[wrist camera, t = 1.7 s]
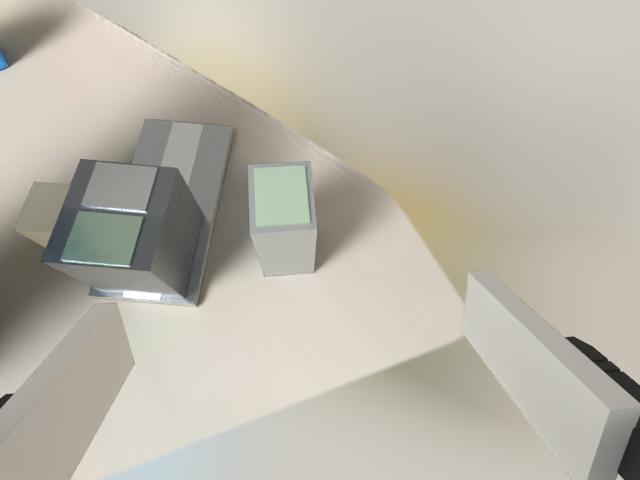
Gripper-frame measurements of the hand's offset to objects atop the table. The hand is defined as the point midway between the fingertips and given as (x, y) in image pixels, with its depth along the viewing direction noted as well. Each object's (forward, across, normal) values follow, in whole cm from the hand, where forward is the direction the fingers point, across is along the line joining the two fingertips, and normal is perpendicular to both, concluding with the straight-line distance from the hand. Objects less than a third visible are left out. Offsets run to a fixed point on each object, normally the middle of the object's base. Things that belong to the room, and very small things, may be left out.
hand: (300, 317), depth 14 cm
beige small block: (+26, -23, -4) cm, 35 cm away
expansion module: (+24, -1, -7) cm, 25 cm away
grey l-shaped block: (+27, -13, -3) cm, 30 cm away
